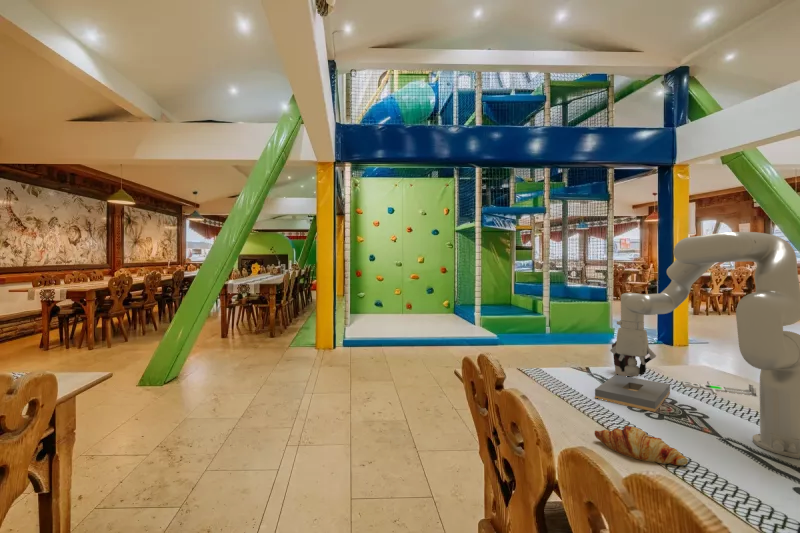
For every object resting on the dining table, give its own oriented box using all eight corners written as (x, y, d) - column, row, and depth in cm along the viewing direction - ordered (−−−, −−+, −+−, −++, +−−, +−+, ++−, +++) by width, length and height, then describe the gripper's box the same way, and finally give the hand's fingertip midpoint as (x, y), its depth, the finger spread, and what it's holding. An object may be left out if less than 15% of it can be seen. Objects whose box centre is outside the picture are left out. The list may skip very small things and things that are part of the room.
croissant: (688, 477, 94) (690, 444, 96) (685, 473, 87) (687, 437, 90) (596, 448, 108) (600, 420, 111) (587, 443, 101) (592, 413, 104)
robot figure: (749, 389, 150) (681, 380, 162) (749, 381, 150) (680, 373, 162) (759, 401, 136) (684, 391, 148) (759, 392, 136) (684, 383, 148)
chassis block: (655, 411, 126) (655, 401, 126) (595, 398, 140) (594, 389, 140) (669, 393, 145) (669, 384, 145) (615, 382, 158) (615, 374, 158)
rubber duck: (623, 376, 141) (623, 355, 141) (624, 372, 147) (624, 352, 147) (640, 378, 138) (640, 357, 138) (641, 374, 144) (641, 353, 144)
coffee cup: (607, 373, 172) (606, 340, 172) (621, 370, 177) (620, 339, 177) (628, 379, 163) (627, 344, 163) (642, 376, 168) (642, 342, 168)
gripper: (604, 324, 146) (604, 370, 146) (656, 329, 134) (657, 379, 134) (610, 322, 151) (610, 366, 151) (661, 326, 139) (661, 375, 139)
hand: (632, 372), depth 142 cm, fingers closed on rubber duck, 5 cm apart
